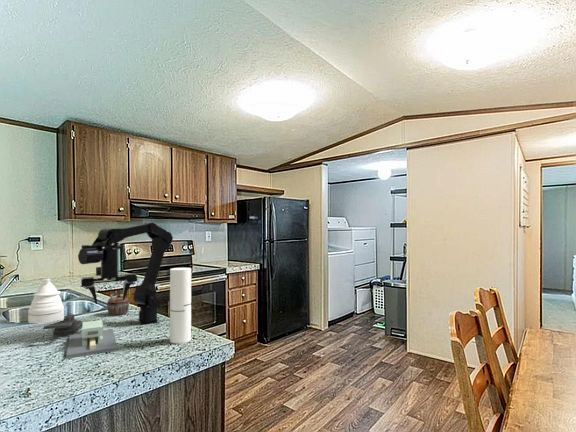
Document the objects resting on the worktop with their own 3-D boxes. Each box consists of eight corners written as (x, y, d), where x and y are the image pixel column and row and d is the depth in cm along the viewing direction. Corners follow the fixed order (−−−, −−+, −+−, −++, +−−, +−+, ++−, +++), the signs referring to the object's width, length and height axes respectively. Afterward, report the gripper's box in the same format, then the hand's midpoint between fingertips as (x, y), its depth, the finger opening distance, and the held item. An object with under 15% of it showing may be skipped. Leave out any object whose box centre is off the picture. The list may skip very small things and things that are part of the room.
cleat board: (112, 331, 134) (112, 325, 134) (117, 350, 113) (117, 343, 113) (69, 337, 127) (69, 331, 127) (66, 358, 106) (66, 351, 106)
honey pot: (63, 320, 151) (64, 279, 152) (26, 325, 144) (27, 281, 145) (63, 314, 162) (64, 275, 163) (29, 318, 155) (30, 278, 156)
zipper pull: (40, 326, 118) (59, 311, 141) (40, 346, 118) (58, 327, 141) (71, 323, 121) (84, 309, 144) (71, 343, 121) (84, 325, 144)
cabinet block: (101, 335, 126) (101, 320, 126) (102, 343, 116) (103, 327, 117) (82, 338, 123) (82, 322, 123) (82, 346, 114) (82, 329, 114)
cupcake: (132, 314, 162) (132, 292, 163) (110, 317, 156) (110, 295, 156) (125, 310, 170) (125, 289, 170) (103, 314, 163) (103, 292, 163)
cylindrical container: (194, 339, 123) (195, 268, 124) (176, 344, 118) (176, 270, 119) (184, 335, 128) (184, 267, 129) (165, 340, 123) (166, 268, 124)
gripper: (133, 257, 145) (133, 295, 145) (80, 261, 135) (81, 301, 135) (137, 260, 136) (137, 300, 135) (81, 264, 126) (81, 307, 126)
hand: (110, 302), depth 133 cm, fingers open, 9 cm apart
